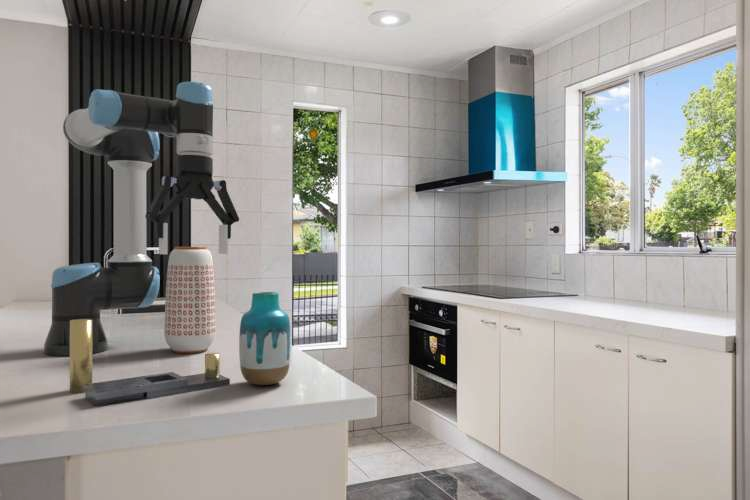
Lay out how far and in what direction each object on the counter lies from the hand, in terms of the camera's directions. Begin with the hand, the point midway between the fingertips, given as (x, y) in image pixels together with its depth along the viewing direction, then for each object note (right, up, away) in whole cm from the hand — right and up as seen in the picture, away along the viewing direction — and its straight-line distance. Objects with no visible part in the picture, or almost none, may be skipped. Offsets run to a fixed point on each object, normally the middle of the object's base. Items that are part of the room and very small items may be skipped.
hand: (194, 254), depth 126 cm
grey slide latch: (-3, -27, -11) cm, 29 cm away
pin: (-19, -27, -11) cm, 35 cm away
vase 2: (+16, -27, -4) cm, 32 cm away
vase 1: (-11, -27, +32) cm, 43 cm away
